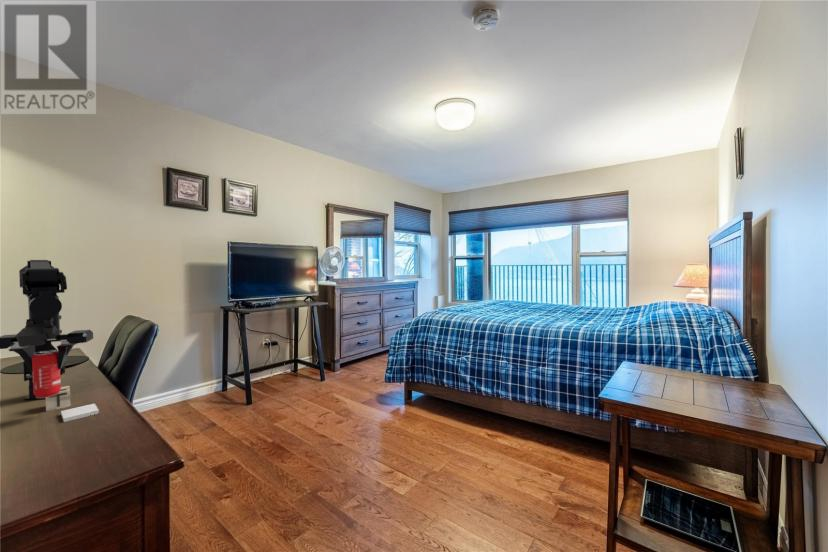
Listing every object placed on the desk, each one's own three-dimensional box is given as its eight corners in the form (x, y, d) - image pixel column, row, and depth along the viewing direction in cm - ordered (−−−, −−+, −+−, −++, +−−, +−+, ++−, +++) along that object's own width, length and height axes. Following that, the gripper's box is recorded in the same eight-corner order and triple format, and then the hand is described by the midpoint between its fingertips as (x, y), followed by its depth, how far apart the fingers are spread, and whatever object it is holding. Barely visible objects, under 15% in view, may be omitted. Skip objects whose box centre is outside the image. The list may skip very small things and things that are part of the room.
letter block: (46, 406, 103) (45, 389, 102) (70, 401, 106) (69, 385, 106) (46, 412, 99) (45, 394, 99) (70, 406, 103) (70, 389, 102)
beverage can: (43, 399, 93) (41, 355, 92) (28, 397, 94) (26, 354, 94) (66, 392, 98) (64, 350, 98) (51, 390, 99) (50, 349, 99)
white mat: (61, 414, 97) (60, 411, 97) (94, 406, 102) (94, 403, 102) (63, 422, 93) (63, 418, 92) (98, 413, 98) (98, 410, 98)
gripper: (-26, 320, 84) (-23, 384, 84) (76, 315, 92) (78, 373, 93) (3, 314, 94) (5, 371, 94) (93, 310, 102) (94, 362, 103)
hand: (46, 369), depth 96 cm, fingers closed on beverage can, 5 cm apart
